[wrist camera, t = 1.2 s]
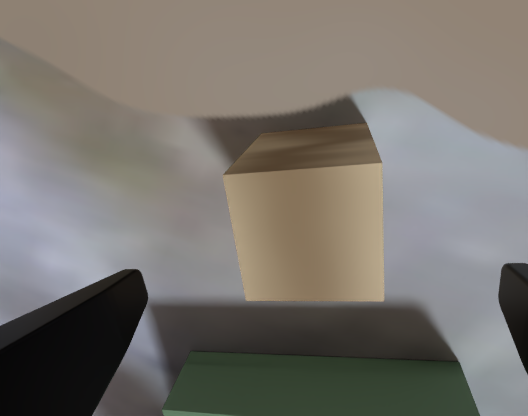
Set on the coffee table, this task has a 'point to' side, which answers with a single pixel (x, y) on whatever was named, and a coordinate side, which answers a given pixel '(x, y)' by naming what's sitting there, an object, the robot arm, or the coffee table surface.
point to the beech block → (309, 215)
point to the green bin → (317, 387)
